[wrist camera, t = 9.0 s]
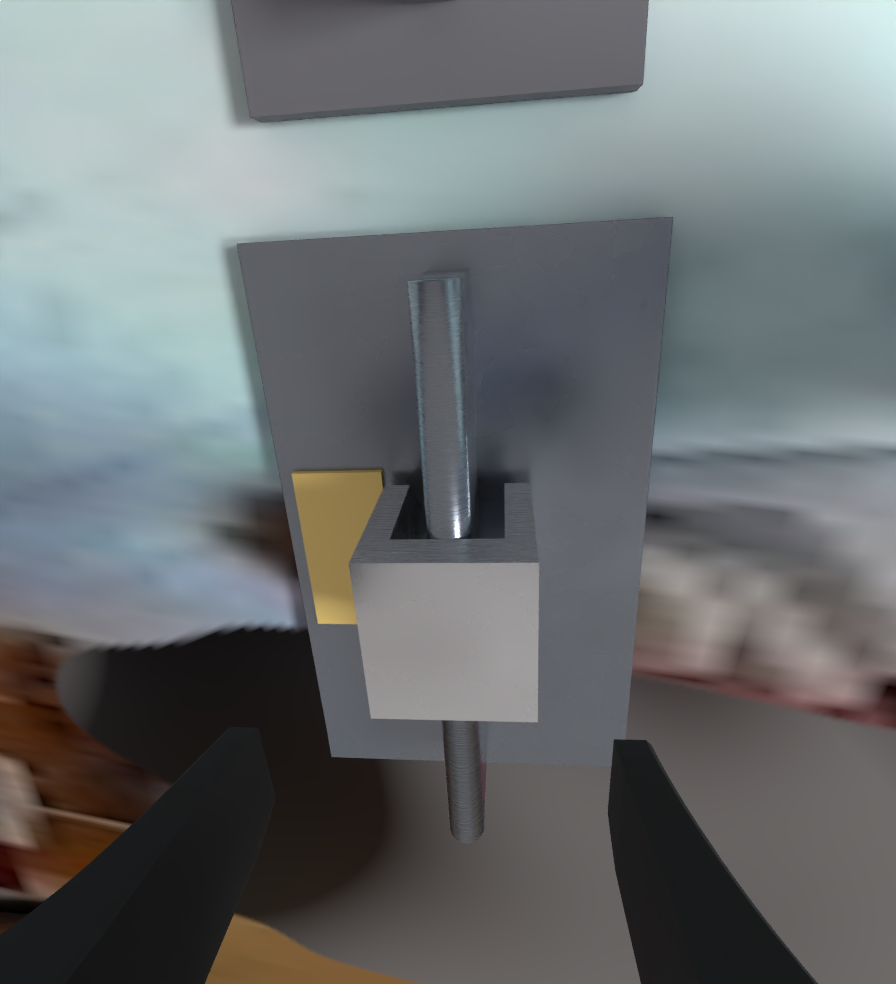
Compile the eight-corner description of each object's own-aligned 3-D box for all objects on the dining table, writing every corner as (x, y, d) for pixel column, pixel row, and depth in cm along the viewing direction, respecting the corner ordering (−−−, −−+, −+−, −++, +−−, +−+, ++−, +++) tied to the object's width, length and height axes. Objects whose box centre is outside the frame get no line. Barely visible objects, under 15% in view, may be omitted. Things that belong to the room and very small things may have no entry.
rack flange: (665, 217, 16) (728, 211, 11) (619, 751, 24) (645, 871, 20) (248, 243, 17) (155, 247, 13) (336, 741, 25) (299, 853, 21)
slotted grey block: (529, 483, 18) (539, 562, 14) (530, 615, 20) (537, 722, 16) (384, 485, 19) (348, 563, 14) (398, 615, 21) (370, 718, 16)
